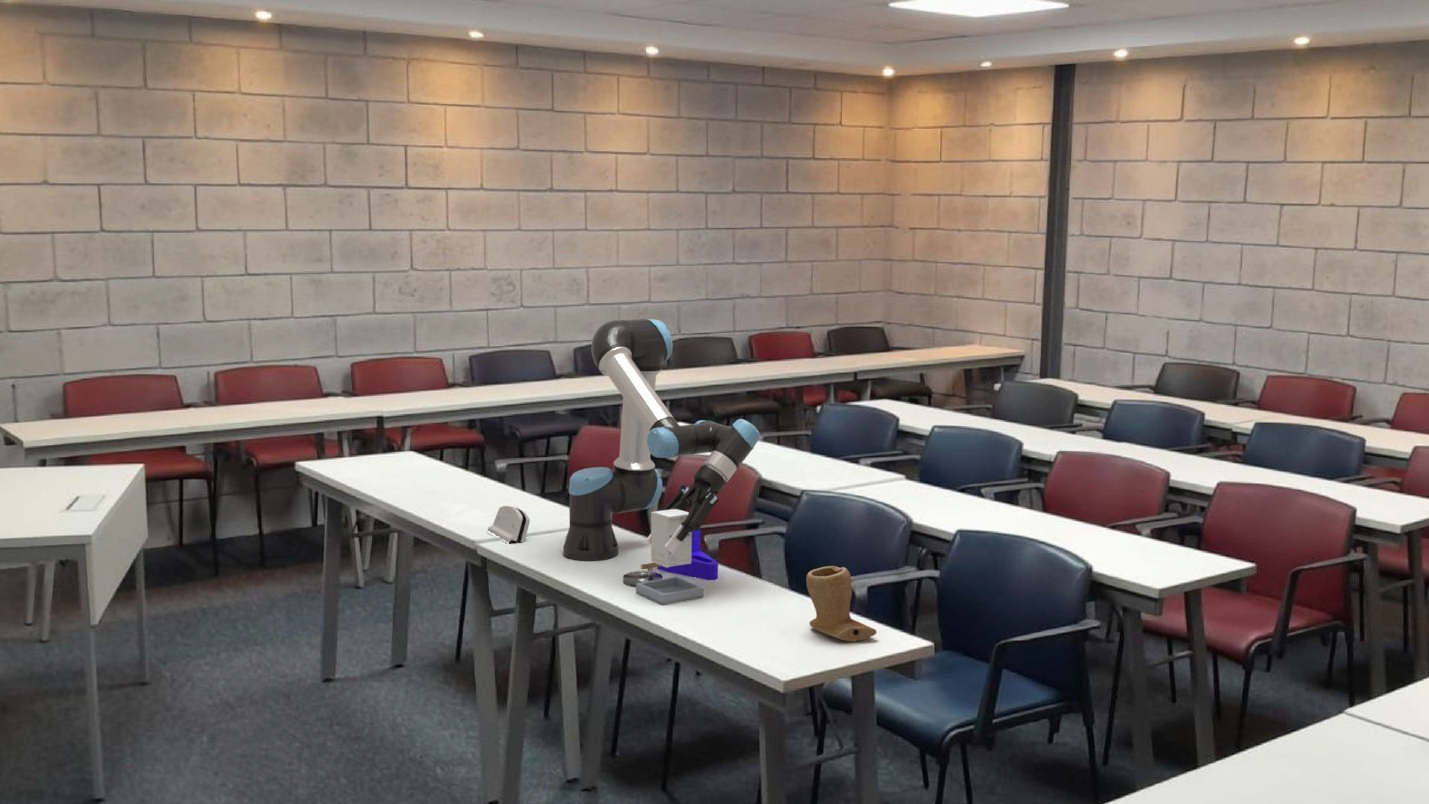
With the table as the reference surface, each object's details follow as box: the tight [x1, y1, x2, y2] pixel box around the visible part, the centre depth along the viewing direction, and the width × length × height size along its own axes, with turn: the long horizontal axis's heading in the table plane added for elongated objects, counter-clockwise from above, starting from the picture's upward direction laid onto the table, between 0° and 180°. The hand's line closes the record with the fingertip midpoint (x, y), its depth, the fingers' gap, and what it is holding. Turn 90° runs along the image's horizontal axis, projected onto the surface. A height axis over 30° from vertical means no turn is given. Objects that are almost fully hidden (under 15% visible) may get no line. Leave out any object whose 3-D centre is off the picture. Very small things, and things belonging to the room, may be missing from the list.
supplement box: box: [650, 509, 692, 568], centre depth 313 cm, size 7×7×13 cm
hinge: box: [487, 505, 531, 543], centre depth 373 cm, size 17×5×10 cm, turn 32°
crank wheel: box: [622, 562, 664, 588], centre depth 326 cm, size 10×10×6 cm
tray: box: [635, 576, 705, 606], centre depth 315 cm, size 12×12×2 cm
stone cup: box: [806, 565, 878, 643], centre depth 284 cm, size 15×12×15 cm
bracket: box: [656, 524, 719, 581], centre depth 336 cm, size 18×11×12 cm, turn 38°
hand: (659, 546), depth 311 cm, fingers closed on supplement box, 7 cm apart
